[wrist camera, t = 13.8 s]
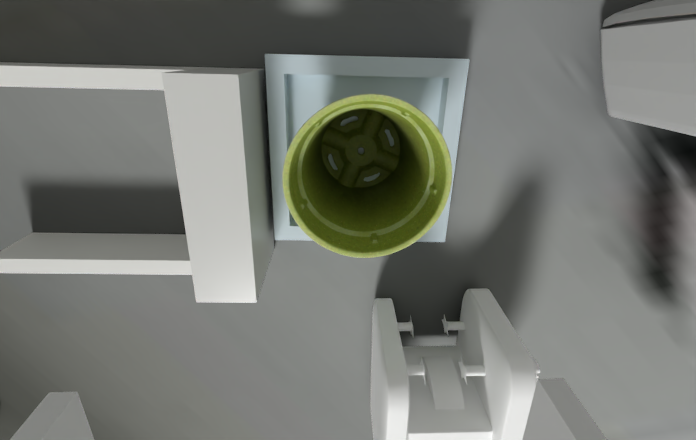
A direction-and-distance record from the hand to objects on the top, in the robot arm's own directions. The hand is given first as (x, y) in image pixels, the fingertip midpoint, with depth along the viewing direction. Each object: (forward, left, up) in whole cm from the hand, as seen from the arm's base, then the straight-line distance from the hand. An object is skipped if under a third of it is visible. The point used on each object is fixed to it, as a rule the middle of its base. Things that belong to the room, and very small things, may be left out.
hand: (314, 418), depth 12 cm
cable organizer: (+9, -16, -22) cm, 29 cm away
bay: (-15, +2, -22) cm, 26 cm away
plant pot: (+2, +3, -21) cm, 22 cm away
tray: (+2, +3, -22) cm, 22 cm away
